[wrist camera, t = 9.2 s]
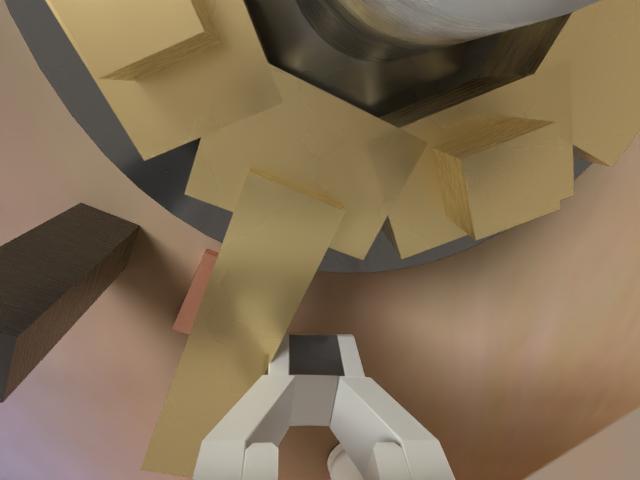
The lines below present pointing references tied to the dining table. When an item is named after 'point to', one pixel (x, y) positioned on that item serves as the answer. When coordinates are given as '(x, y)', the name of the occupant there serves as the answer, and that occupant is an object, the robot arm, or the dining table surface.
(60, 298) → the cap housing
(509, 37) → the gold ring with handle
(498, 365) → the dining table surface
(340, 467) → the chess piece
